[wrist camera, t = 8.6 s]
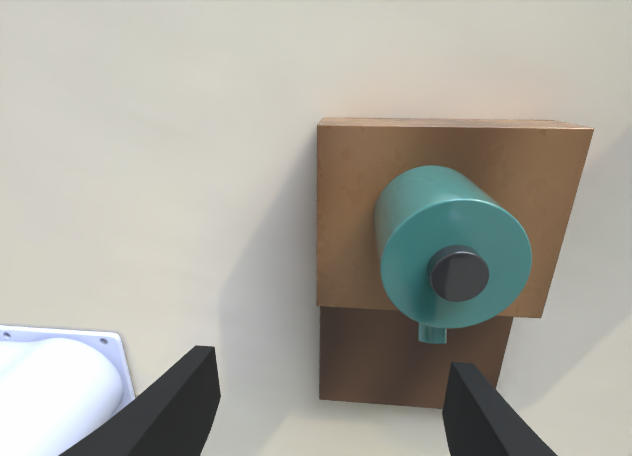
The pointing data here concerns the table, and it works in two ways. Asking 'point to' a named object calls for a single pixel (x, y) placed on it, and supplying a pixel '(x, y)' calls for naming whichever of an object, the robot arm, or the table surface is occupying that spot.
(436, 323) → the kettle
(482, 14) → the table surface
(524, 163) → the tier stand
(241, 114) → the table surface
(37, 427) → the robot arm
